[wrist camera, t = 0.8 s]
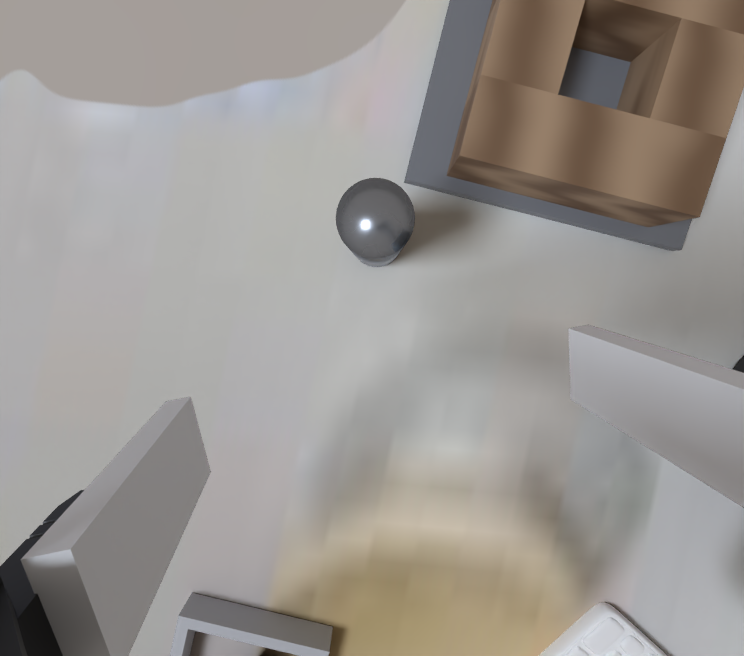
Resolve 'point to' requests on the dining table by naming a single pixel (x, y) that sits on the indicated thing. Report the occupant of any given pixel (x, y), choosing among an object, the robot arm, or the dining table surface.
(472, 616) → the dining table surface
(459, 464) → the dining table surface
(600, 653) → the calculator
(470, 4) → the socket
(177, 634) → the parts tray
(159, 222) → the dining table surface
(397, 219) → the peg
